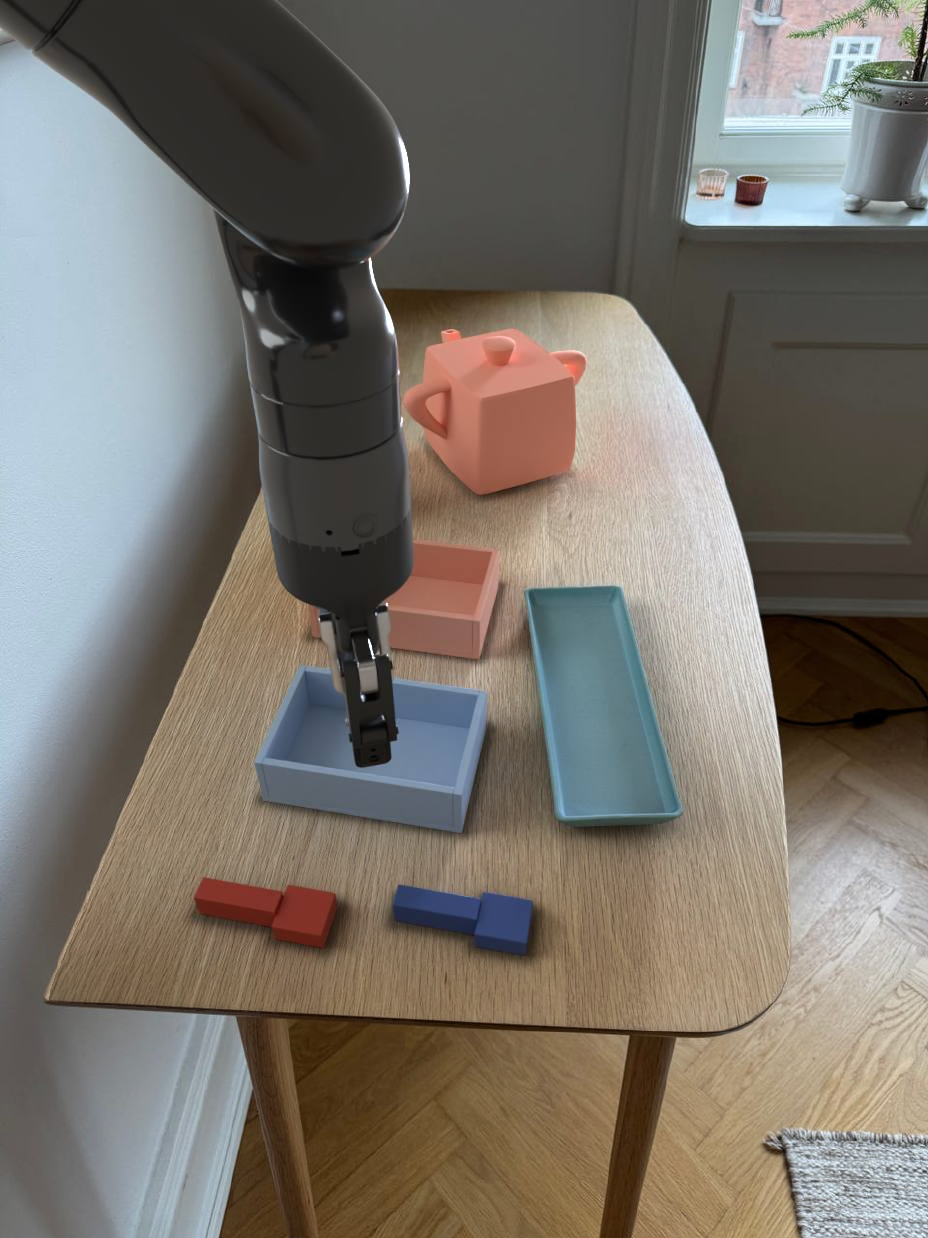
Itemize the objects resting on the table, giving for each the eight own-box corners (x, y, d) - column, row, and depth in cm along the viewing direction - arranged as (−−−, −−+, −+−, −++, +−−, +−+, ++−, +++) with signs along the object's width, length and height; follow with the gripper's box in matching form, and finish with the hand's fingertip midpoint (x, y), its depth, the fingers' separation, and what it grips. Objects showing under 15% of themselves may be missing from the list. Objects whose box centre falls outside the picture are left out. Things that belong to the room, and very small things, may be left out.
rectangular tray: (522, 604, 85) (523, 583, 84) (619, 601, 86) (622, 580, 84) (553, 841, 66) (555, 820, 64) (679, 836, 66) (685, 816, 64)
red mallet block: (194, 924, 61) (188, 908, 60) (213, 883, 63) (207, 866, 62) (323, 948, 60) (320, 933, 58) (338, 905, 62) (335, 889, 61)
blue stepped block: (390, 931, 61) (389, 916, 59) (402, 889, 63) (401, 873, 62) (525, 956, 59) (526, 940, 58) (532, 912, 62) (533, 896, 60)
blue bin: (262, 800, 68) (253, 762, 66) (306, 702, 76) (299, 664, 73) (461, 833, 66) (461, 795, 63) (486, 729, 74) (487, 690, 71)
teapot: (613, 465, 103) (627, 349, 94) (436, 515, 96) (433, 394, 87) (527, 389, 117) (532, 281, 107) (366, 428, 109) (357, 316, 100)
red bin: (312, 637, 82) (306, 598, 79) (345, 567, 89) (341, 530, 86) (479, 659, 80) (479, 621, 77) (498, 586, 87) (499, 549, 84)
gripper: (256, 438, 52) (292, 646, 63) (277, 595, 42) (316, 811, 52) (386, 422, 53) (399, 628, 64) (438, 571, 43) (444, 787, 54)
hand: (362, 710), depth 58 cm, fingers open, 8 cm apart
